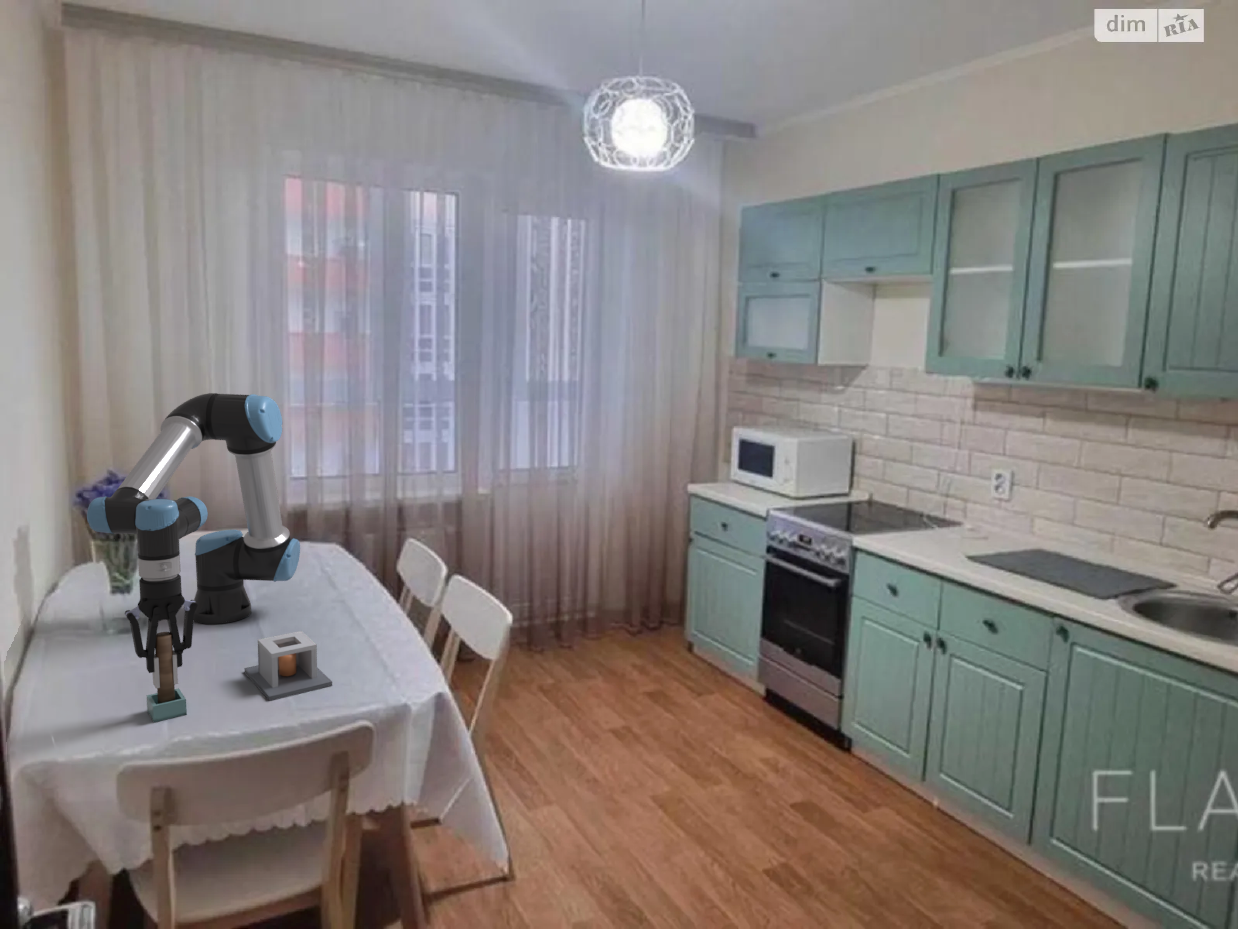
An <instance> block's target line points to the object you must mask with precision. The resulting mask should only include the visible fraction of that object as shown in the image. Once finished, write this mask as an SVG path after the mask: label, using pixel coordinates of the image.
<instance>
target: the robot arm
mask: <svg viewBox="0 0 1238 929" xmlns="http://www.w3.org/2000/svg"><path fill="white" fill-rule="evenodd" d="M282 425H283V418H282V413H281V410H280V407H279V406H278V404H277V402H276V401H275V400H274V399H272V398H271V397H269V396H267V395H259V394H253V393H251V394H235V393H233V394H232V393H217V392H215V393H214V392H209V393H208V392H207V393H202V394H200V395H196V396H194V397H191V398H190V399H188V400H186V401H184V402H182V403H181V404H180V405H178V406H177V407H176V408H174V409H172V411H171V412H169V414H168V415H167V416H166V417H165V419H163V421H162V422H161V424H160V432H159V434H158V435H157V436H156V438H155V439H154V441H153V442H152V443H151V445H149V447H148V448H147V450H146V451H145V452H144V453H143V455H142V456H141V458H140V459H139V460H138V461H137V462H136V464H135V465H134V466H133V468H132V469H131V470H130V472H129V473H128V474H127V475H126V477H125V479H124V480H123V481H122V482H121V484H120V485H118V486H119V487H117V489H116V490H115V491H114V492H113V493H112V495H111V496H110V497H109V496H103V497H102V496H101V497H96V498H94V499H92V500H91V502H90V503H89V504H88V507H87V511H86V519H87V523H88V525H89V528H90V529H91V530H93V531H94V532H97V533H107V534H125V535H126V534H130V535H131V534H133V535H136V540H137V544H136V545H137V564H138V576H139V583H138V585H139V601H138V602H137V606H136V607H134V608H132V609H131V610H130V609H128V610H126V611H125V612H124V615H125V617H126V618H127V620H128V621H129V625H130V630H131V634H132V635H131V636H132V642H133V647H134V651H135V654H136V656H137V658H140V659H142V658H145V662H146V663H145V664H146V670H147V672H148V674H152V685H153V686H154V688H155V689H157V688H160V677H159V658H158V657H156V654H155V645H156V635H157V633H158V627H159V622H162V621H163V620H165V621H167V624H168V629H169V632H171V633H172V643H173V655H172V659H173V679H174V686H175V685H178V684H179V678H178V677H179V676H178V675H179V674H178V668H181V667H182V666H183V653H184V651H185V650H187V649H191V648H192V645H193V631H194V622H196V623H199V624H203V625H204V624H205V625H207V624H208V625H217V624H218V625H219V624H221V625H222V624H228V623H233V622H237V621H240V620H243V619H246V618H248V617H249V616H250V615H251V614H252V602H251V600H250V598H249V596H248V593H247V590H246V588H245V585H244V581H264V582H265V581H269V582H271V581H272V582H274V583H275V582H287V581H289V580H291V579H292V578H293V577H294V575H295V574H296V571H297V568H298V566H299V562H300V554H301V542H300V541H299V539H297V538H294V537H293V538H291V533H290V530H289V529H288V528H287V527H286V526H285V525H283V521H282V520H283V519H282V514H281V507H280V501H279V494H278V489H277V488H278V486H277V481H276V476H275V475H276V474H275V468H274V461H273V460H274V459H273V457H272V456H273V454H272V451H273V449H274V448H276V445H277V442H278V441H279V440H280V438H281V436H282V434H283V433H282V432H283V426H282ZM209 440H210V441H211V440H213V441H214V440H215V441H225V443H226V449H227V452H229V453H231V454H233V455H234V457H235V464H236V469H237V472H238V473H237V474H238V480H239V485H240V486H239V487H240V491H241V497H242V498H241V499H242V503H243V509H244V515H245V519H246V527H247V529H248V530H247V532H246V533H245V535H244V534H243V532H242V531H241V530H238V529H225V530H218V531H213V532H210V533H207V534H204V535H202V536H200V537H199V538H197V540H196V542H195V549H194V550H195V551H194V552H195V553H194V556H195V570H196V571H195V573H196V574H195V575H196V576H195V577H196V592H195V595H194V599H190V600H189V599H185V597H184V596H183V593H182V576H181V575H180V573H181V559H180V558H181V556H180V555H181V552H180V540H181V539H183V538H185V537H186V536H188V535H190V534H192V533H195V532H197V531H198V530H199V529H200V528H201V527H202V526H203V525H205V524H206V521H207V520H208V515H209V513H208V508H207V506H206V504H205V503H204V502H203V501H202V500H201V499H200V498H197V497H195V496H185V497H179V498H177V499H167V498H158V496H160V494H161V492H162V491H163V489H164V488H165V487H166V485H167V484H168V483H169V481H170V479H171V478H172V476H173V475H174V474H175V472H176V471H177V470H178V468H179V467H180V465H181V464H182V462H183V461H184V460H185V458H186V457H187V456H188V454H189V452H190V451H191V450H194V449H196V448H197V447H199V446H200V445H201V443H202V442H203V441H204V442H205V441H209ZM243 535H244V536H243ZM182 607H183V609H184V617H183V618H184V619H183V632H182V641H181V637H180V632H179V628H178V623H177V622H178V621H177V617H176V616H177V614H178V613H179V611H180V610H181V608H182ZM140 613H142V614H143V615H144V616H145V617H146V618H147V634H146V642H145V648H144V646H143V639H142V635H141V634H142V633H141V627H140V624H139V619H140V617H141V616H140Z"/></svg>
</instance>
